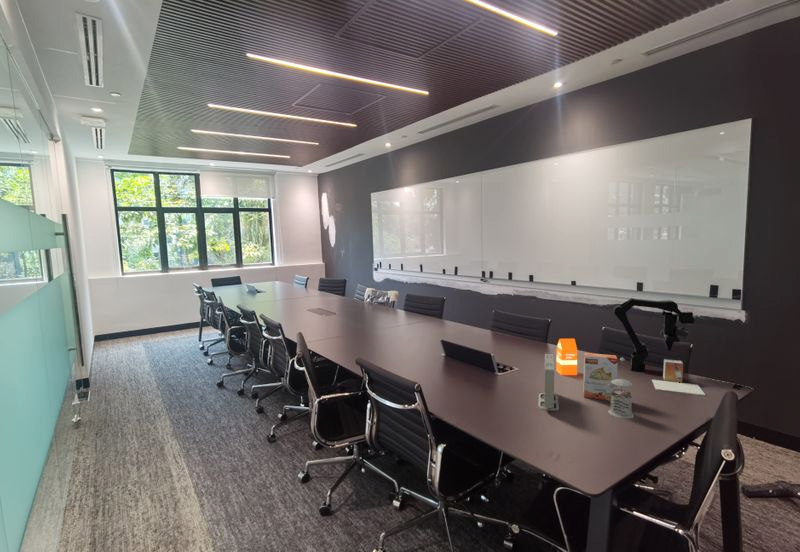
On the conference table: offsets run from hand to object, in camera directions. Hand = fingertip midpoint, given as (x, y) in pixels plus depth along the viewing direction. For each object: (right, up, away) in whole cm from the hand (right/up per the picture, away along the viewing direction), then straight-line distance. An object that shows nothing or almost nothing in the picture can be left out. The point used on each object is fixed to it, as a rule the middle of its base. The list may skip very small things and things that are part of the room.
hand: (669, 350), depth 218 cm
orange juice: (-55, -14, +6) cm, 57 cm away
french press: (-55, -19, -48) cm, 75 cm away
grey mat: (-10, -15, -20) cm, 27 cm away
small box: (-5, -14, -10) cm, 18 cm away
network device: (-81, -18, -34) cm, 90 cm away
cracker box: (-55, -17, -30) cm, 65 cm away
